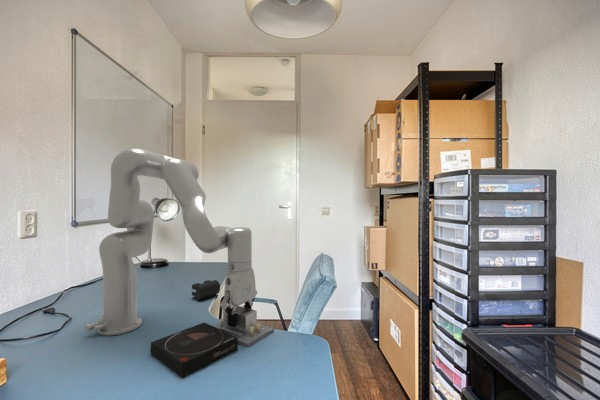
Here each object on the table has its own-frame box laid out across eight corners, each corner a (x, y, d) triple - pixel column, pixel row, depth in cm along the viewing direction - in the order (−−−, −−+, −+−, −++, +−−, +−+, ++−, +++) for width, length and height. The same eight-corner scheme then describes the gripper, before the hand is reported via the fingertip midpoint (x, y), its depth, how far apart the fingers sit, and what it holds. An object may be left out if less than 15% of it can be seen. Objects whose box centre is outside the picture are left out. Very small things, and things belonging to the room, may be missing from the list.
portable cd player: (203, 334, 93) (203, 321, 93) (237, 351, 82) (237, 337, 82) (150, 356, 80) (150, 341, 80) (182, 380, 69) (182, 363, 69)
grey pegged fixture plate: (247, 347, 83) (247, 335, 83) (206, 332, 93) (206, 321, 93) (273, 331, 93) (273, 320, 93) (233, 319, 103) (233, 309, 103)
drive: (245, 335, 88) (245, 315, 88) (223, 327, 94) (223, 308, 94) (256, 329, 93) (256, 310, 93) (234, 322, 98) (234, 304, 98)
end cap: (201, 302, 120) (201, 286, 120) (190, 299, 124) (190, 283, 124) (220, 296, 128) (220, 280, 128) (210, 293, 132) (210, 278, 132)
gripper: (227, 273, 84) (227, 335, 84) (266, 262, 98) (266, 315, 98) (210, 270, 88) (210, 329, 88) (249, 260, 102) (249, 310, 103)
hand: (239, 321), depth 93 cm, fingers open, 6 cm apart
